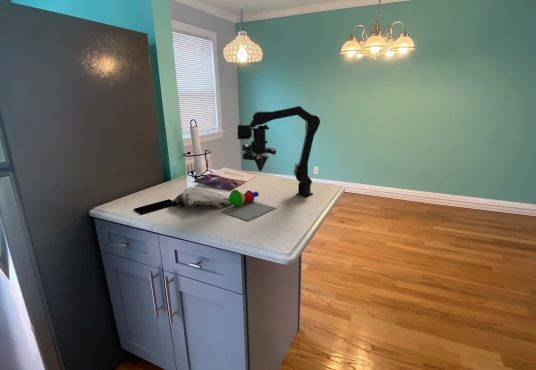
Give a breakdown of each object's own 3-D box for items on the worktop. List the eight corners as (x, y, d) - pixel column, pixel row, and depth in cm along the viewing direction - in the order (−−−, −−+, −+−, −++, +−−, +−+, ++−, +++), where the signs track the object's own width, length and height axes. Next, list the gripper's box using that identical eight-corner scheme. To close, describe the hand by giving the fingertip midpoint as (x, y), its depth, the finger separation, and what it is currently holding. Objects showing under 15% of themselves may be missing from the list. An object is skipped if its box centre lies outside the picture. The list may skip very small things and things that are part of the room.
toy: (257, 182, 141) (231, 189, 131) (262, 198, 140) (237, 206, 130) (247, 187, 147) (222, 194, 136) (253, 202, 146) (228, 210, 136)
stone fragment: (206, 191, 162) (206, 179, 161) (241, 203, 143) (240, 190, 141) (162, 202, 145) (160, 189, 143) (194, 217, 125) (193, 203, 124)
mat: (248, 200, 145) (248, 199, 144) (276, 208, 134) (276, 207, 134) (220, 211, 131) (220, 211, 131) (248, 221, 121) (248, 220, 121)
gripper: (259, 135, 154) (259, 165, 159) (233, 140, 140) (235, 172, 145) (276, 137, 147) (276, 168, 152) (251, 142, 133) (252, 176, 138)
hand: (260, 170), depth 147 cm, fingers closed
